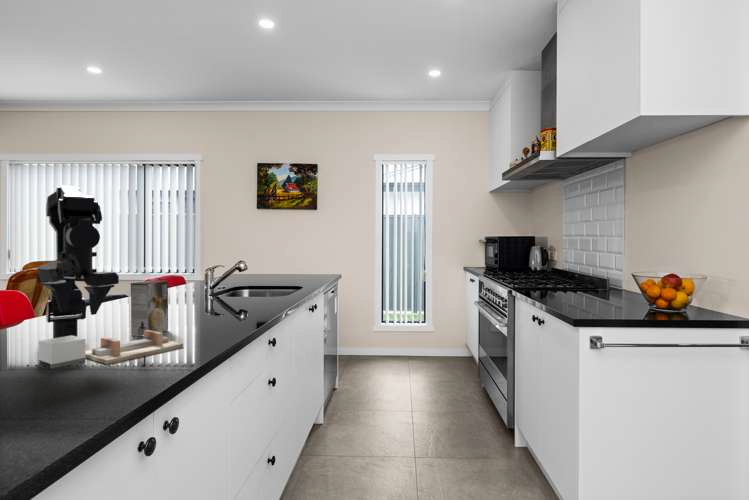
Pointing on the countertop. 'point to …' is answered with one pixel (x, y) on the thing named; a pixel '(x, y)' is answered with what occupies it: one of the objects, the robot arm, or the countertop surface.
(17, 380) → the countertop surface
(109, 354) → the rail board
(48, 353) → the block
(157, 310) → the coffee box
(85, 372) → the countertop surface
